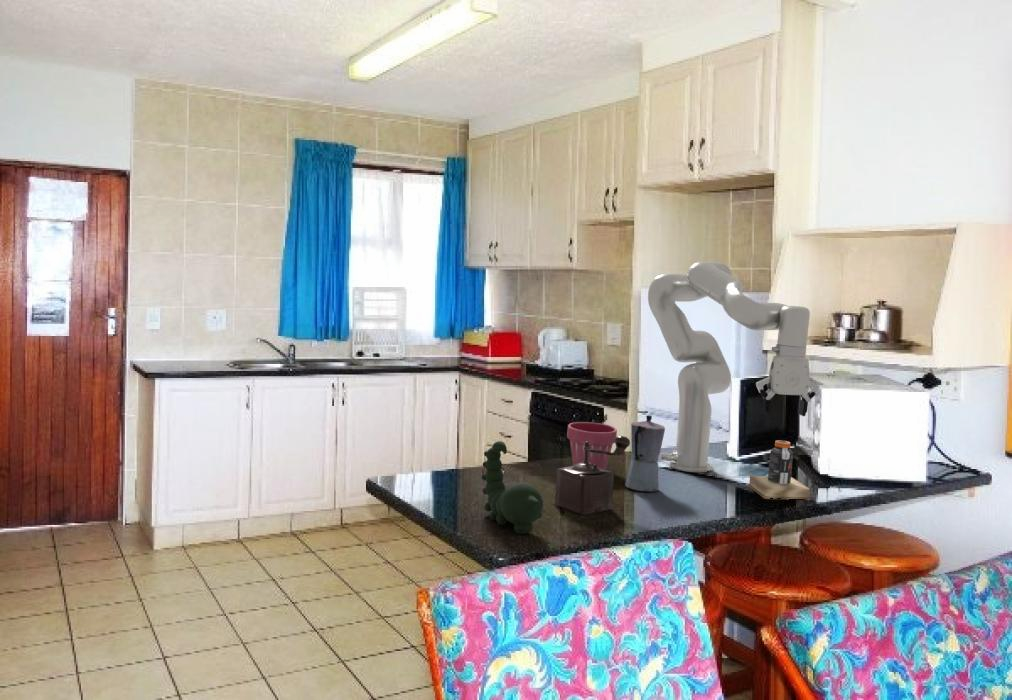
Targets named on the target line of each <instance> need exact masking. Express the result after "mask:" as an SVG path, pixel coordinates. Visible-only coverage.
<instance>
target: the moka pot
mask: <svg viewBox="0 0 1012 700" xmlns="http://www.w3.org/2000/svg"><path fill="white" fill-rule="evenodd" d="M652 417H653V415H650V414H649V415H646V420H644V421H634V422H631V424H630V426H631V427H630V430H631V433H630V435H631V436H630V437H631V438H630V439H631V440H630V441H631V442H630V444H631V460H630V463H629V467H628V472H627V475H626V479H625V482H624V483H625V484H624V485H625V487H626V488H627V489H631V490H634V491H638V492H639V491H640V492H657V491H659V488H660V487H659V463H658V462H659V455H660V453H661V450H662V445H663V440H664V436H665V430H666V428H665V426H664V425H662V424H658V423H655V422H652V419H653V418H652Z"/></svg>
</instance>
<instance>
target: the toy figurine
mask: <svg viewBox="0 0 1012 700" xmlns="http://www.w3.org/2000/svg"><path fill="white" fill-rule="evenodd" d="M501 452H502V453H503V454H504V455H506V454H507V452H508V448H507V445H506V443H505V442H504V441H502V440H498V441H495V442H494V443H493V444H492V446H491V447H490V448H488V449H487V450H485V451H484V453H483V455H484V457H486V460H485V461H483V462H482V467H483V468H485V470H486V473H483V474H481V479H482V480H483V481H486V484H485V487H483V488H482V493H483V495H487V502H486V503H485V504H484V510H485V511H486V512H489V513H490V514H489V519H490V520H491V521H496V523H497V524H498V525H501V526H502V525H505V524H506V523H507V522H510V523H511V524H513V525H514V526H513V529H514V531H515V532H516V534H519V535H527V534H529V533H531V532H532V531H533V528H534V525H533V523H535V521H537V520H539V519H541V518H542V516H543V515H542V511H543V507H544V502H543V497H542V495H541V493H540V491H539V490H538V488H536V487H535V486H534V485H533V484H531V483H528V482H521V481H519V482H515V483H513V484H511V485H509V486H508V487H506V485H505V483H504V481H503V480H504V474H503V472H502V469H503V463H502V460H501V454H502V453H501ZM526 533H527V534H526Z"/></svg>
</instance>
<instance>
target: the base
mask: <svg viewBox="0 0 1012 700" xmlns="http://www.w3.org/2000/svg"><path fill="white" fill-rule="evenodd" d="M747 487H749V488H750V489H751V490H753V491H754V492H755V493H756V494H757V495H759V496H760V497H761V498H763V500H764V499H765V500H771V499H770V498H773V499H772V500H778V499H777V498H781V499H780V500H789V499H810V500H811V497H810V488H809V487H808V486H806V485H804V484H803V483H801V482H800V481H798V480H797V479H795V478H793V477H792V476H791V482H790V483H789V484H776V483H772V482H770V481H769V480H768V475H749V481H748V483H747Z"/></svg>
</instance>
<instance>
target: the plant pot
mask: <svg viewBox="0 0 1012 700" xmlns="http://www.w3.org/2000/svg"><path fill="white" fill-rule="evenodd" d="M566 432H567V433H566V437H567V439H568V440H569V443H570V451H571V458H572V466H574V465H576V464H578V463H581V462H583V461H584V458H585V450H584V447H585V445H584V443H585V442H586V441H587V442H589V448H590V449H592V450H593V449H594V450H603V451H607V452H612V449H613V445H614V444H615V442H614V440H615V438H616V437H617V436H618V430H617V428H616V427H615V426H613V425H610V424H605V423H600V422H589V421H576V422H571V423H569V424H567V431H566ZM609 458H610V455H605V454H600V453H591V452H589V451H588V462H589V463H594V465H597V467H598V468H601V469H604V470H607V469H606V468H607V465H608V461H609Z"/></svg>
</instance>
